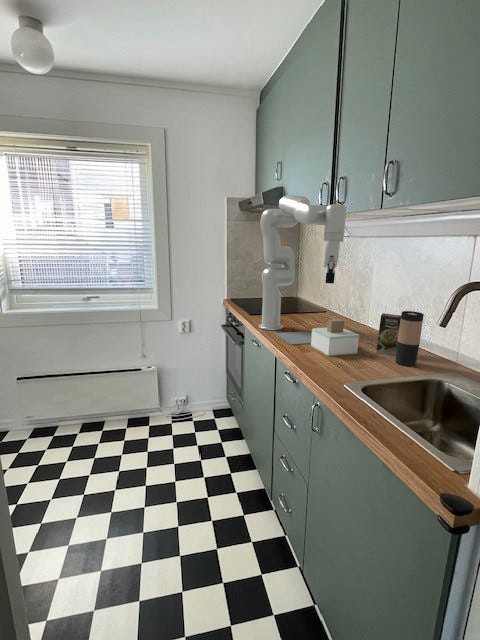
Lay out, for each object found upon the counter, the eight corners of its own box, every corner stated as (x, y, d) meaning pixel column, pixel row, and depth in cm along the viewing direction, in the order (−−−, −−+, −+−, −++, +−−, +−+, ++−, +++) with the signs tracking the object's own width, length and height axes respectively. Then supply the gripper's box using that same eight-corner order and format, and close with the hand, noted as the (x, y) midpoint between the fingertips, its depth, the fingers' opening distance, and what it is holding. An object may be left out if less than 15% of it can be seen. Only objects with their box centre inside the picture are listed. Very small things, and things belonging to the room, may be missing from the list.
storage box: (310, 345, 152) (312, 330, 151) (338, 343, 156) (339, 328, 155) (328, 356, 139) (329, 339, 138) (357, 353, 144) (358, 337, 142)
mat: (275, 334, 169) (275, 333, 169) (307, 332, 175) (307, 331, 175) (291, 345, 152) (291, 344, 152) (326, 342, 158) (326, 341, 158)
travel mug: (390, 359, 137) (397, 310, 132) (409, 360, 137) (416, 311, 132) (400, 366, 129) (408, 315, 125) (420, 366, 130) (428, 315, 125)
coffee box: (375, 352, 145) (380, 315, 142) (377, 348, 151) (381, 312, 147) (399, 356, 141) (404, 318, 137) (400, 352, 147) (405, 315, 143)
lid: (311, 332, 151) (313, 317, 149) (339, 330, 155) (340, 315, 154) (329, 341, 138) (330, 325, 136) (358, 339, 142) (360, 323, 141)
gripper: (324, 238, 142) (321, 279, 146) (322, 237, 126) (319, 283, 130) (343, 238, 140) (339, 280, 144) (344, 238, 124) (339, 285, 128)
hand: (329, 281), depth 137 cm, fingers open, 9 cm apart
